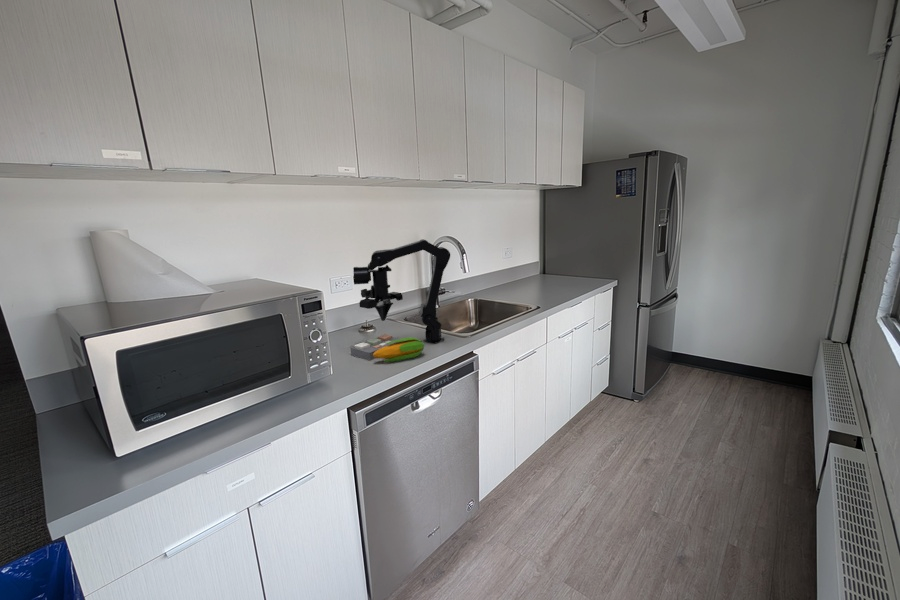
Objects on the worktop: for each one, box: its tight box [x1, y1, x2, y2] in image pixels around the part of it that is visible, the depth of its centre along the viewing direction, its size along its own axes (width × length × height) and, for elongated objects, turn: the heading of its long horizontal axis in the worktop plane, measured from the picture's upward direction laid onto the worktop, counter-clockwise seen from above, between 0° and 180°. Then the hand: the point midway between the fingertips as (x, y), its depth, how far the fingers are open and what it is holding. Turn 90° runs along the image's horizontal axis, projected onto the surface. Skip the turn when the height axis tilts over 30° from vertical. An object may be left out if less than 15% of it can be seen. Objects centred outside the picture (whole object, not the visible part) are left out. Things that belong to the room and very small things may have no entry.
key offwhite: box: [353, 342, 370, 350], centre depth 156 cm, size 4×4×4 cm
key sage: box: [365, 337, 382, 345], centre depth 160 cm, size 4×4×4 cm
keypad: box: [349, 336, 402, 361], centre depth 159 cm, size 18×11×3 cm, turn 143°
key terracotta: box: [377, 333, 393, 341], centre depth 165 cm, size 4×4×4 cm
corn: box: [373, 337, 425, 363], centre depth 149 cm, size 7×8×20 cm
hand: (383, 320), depth 163 cm, fingers closed
